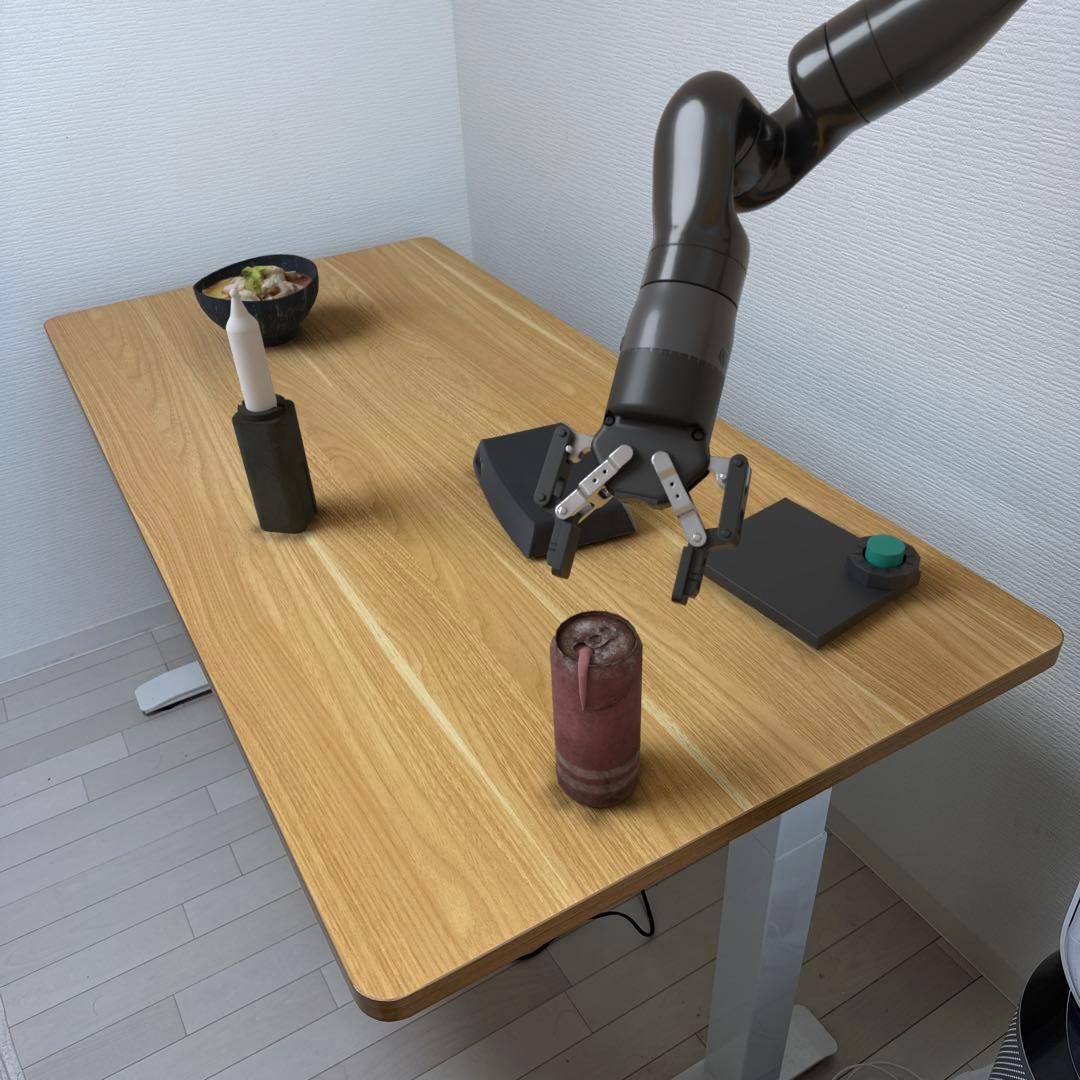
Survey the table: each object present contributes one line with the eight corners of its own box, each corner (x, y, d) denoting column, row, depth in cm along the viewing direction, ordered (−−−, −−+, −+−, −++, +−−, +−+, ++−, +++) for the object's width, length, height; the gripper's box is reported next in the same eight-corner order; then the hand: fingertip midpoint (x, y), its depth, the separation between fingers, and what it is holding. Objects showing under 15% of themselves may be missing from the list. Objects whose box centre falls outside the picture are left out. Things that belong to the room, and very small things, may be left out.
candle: (277, 503, 103) (220, 277, 88) (321, 506, 102) (271, 279, 88) (256, 530, 99) (193, 299, 84) (302, 534, 98) (246, 300, 84)
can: (550, 809, 69) (541, 667, 61) (563, 742, 74) (556, 602, 66) (635, 818, 68) (638, 675, 60) (642, 750, 73) (646, 609, 65)
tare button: (909, 559, 86) (913, 545, 85) (887, 573, 84) (890, 559, 84) (880, 543, 88) (882, 529, 87) (857, 557, 87) (860, 543, 86)
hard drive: (576, 443, 110) (575, 411, 108) (645, 534, 95) (645, 500, 93) (466, 467, 107) (463, 435, 105) (520, 565, 92) (517, 530, 90)
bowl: (183, 345, 138) (164, 277, 132) (272, 303, 149) (258, 240, 143) (264, 371, 130) (247, 300, 124) (352, 325, 141) (341, 258, 135)
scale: (928, 583, 87) (934, 557, 85) (821, 654, 80) (826, 626, 79) (787, 506, 98) (791, 481, 96) (683, 562, 91) (685, 536, 90)
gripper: (779, 396, 68) (727, 619, 66) (591, 368, 73) (538, 576, 71) (770, 358, 61) (711, 607, 59) (562, 331, 66) (502, 559, 64)
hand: (617, 589), depth 65 cm, fingers open, 8 cm apart
